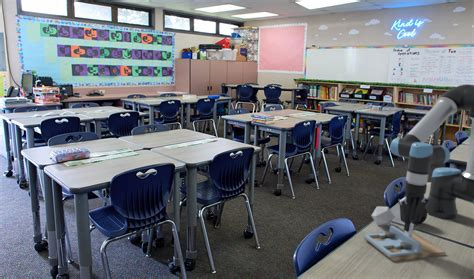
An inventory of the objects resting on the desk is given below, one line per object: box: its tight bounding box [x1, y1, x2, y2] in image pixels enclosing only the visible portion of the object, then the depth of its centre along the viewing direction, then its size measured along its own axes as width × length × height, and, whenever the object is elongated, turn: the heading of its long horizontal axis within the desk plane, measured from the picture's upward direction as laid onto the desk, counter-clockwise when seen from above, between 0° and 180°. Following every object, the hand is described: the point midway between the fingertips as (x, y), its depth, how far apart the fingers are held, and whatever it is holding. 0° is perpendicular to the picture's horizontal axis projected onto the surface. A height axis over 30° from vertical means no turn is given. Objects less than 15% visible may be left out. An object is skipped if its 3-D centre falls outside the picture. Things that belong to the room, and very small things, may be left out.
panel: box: [363, 225, 422, 257], centre depth 142 cm, size 14×16×4 cm
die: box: [371, 206, 396, 227], centre depth 164 cm, size 8×9×10 cm
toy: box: [416, 208, 428, 225], centre depth 166 cm, size 9×10×10 cm
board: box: [363, 230, 446, 262], centre depth 144 cm, size 24×18×4 cm
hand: (407, 238), depth 145 cm, fingers closed
